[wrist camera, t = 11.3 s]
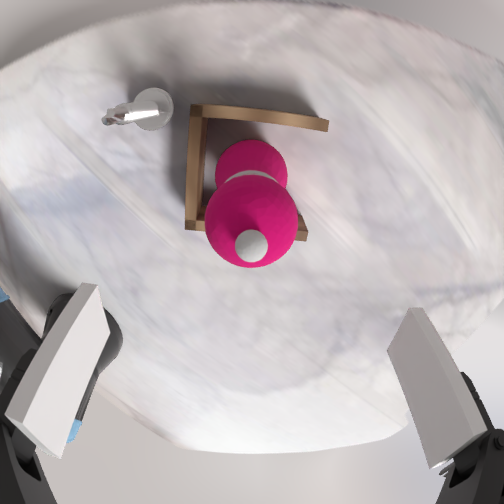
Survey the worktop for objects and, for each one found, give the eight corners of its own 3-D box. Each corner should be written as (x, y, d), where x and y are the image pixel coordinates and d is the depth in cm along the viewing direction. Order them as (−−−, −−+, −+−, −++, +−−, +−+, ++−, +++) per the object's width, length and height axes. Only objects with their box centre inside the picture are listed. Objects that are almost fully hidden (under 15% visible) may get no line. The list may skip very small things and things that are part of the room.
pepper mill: (206, 164, 32) (155, 250, 15) (253, 121, 30) (256, 155, 13) (249, 206, 35) (247, 325, 18) (295, 168, 33) (345, 257, 15)
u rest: (192, 213, 36) (184, 229, 32) (198, 103, 29) (190, 104, 25) (300, 224, 36) (306, 241, 32) (319, 117, 30) (329, 120, 26)
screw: (139, 130, 30) (137, 90, 28) (178, 126, 30) (177, 86, 28) (82, 152, 19) (78, 92, 16) (137, 145, 19) (134, 81, 16)
